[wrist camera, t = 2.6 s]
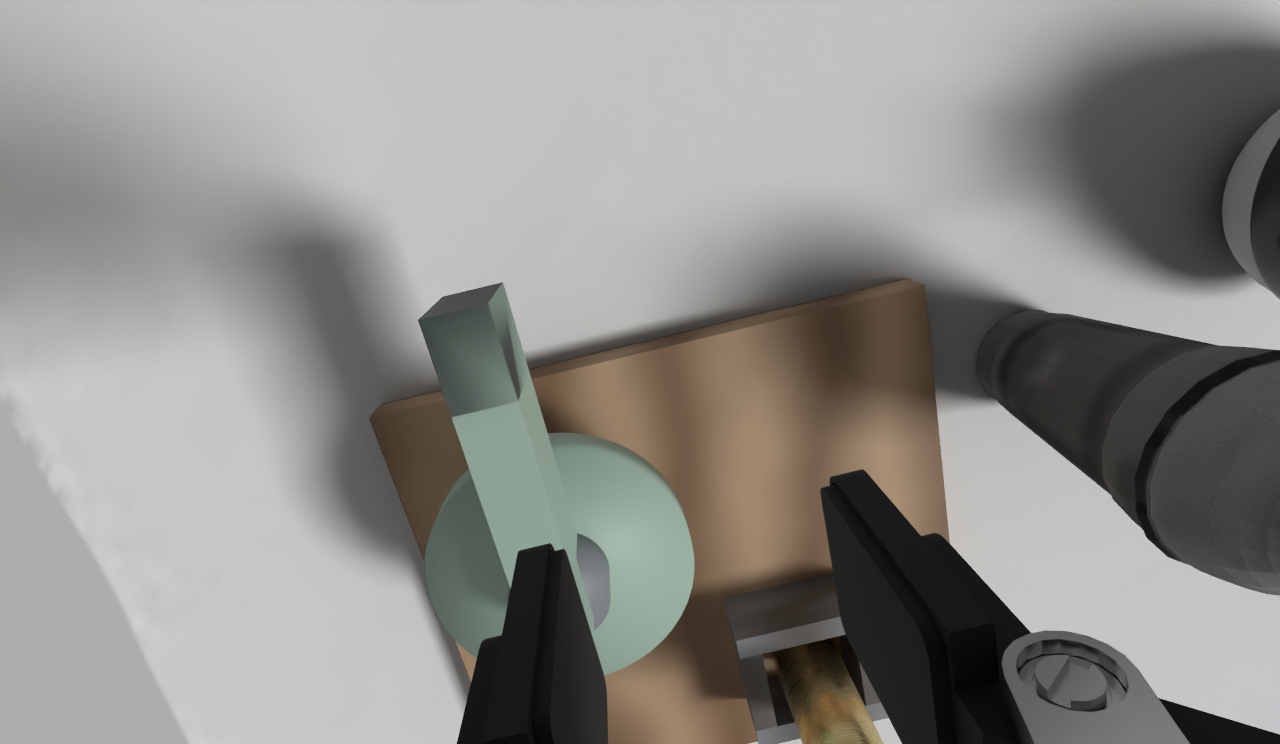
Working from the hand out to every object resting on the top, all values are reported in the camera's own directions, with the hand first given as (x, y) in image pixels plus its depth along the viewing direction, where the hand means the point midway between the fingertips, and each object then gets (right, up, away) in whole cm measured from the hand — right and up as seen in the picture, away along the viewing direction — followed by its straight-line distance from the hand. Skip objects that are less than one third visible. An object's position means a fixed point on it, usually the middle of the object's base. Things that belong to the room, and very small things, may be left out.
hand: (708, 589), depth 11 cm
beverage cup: (+17, +4, +20) cm, 27 cm away
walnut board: (+1, -5, +22) cm, 23 cm away
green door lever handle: (-5, -1, +14) cm, 15 cm away
